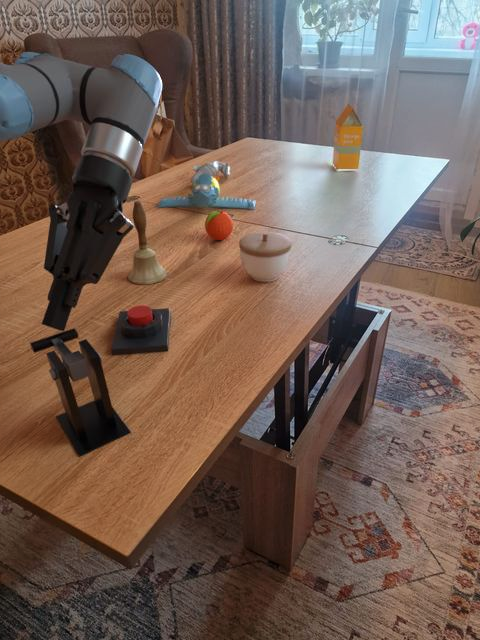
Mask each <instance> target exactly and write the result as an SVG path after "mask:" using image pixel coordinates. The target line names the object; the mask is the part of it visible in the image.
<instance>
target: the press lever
mask: <svg viewBox="0 0 480 640" xmlns="http://www.w3.org/2000/svg"><path fill="white" fill-rule="evenodd" d="M76 339H79V333H78V331H77V329H76V328H75V327H74V328H71V329H67V330H64V331H61V332H58V333H56V334H52V335H50V336H47V337H43V338H41V339H37V340H35V341H31V342H30V343H29V345H30V348H31V350H32V352H33V353H34V354H35V353H39V352H41V351H44V350H47V349H50V348H54V350H55V352H56V353H57V354H58V355H59V356H60V359H61V361H62V362H63V364H64V365H65V367H66V369H67V372H68V375H69V378H70V381H72V382H73V383H74V382H77V381H79V380H83V379H85V378H88V376H90V375H91V374H90V370H89V367H88V364H87V360H86V358H85V357H84V356H83V355H82V353H81V351H80V350H76V351H71V350H70V348H69V347H68V346H67V345H66V343H67V342H70V341H74V340H76Z"/></svg>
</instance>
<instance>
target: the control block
mask: <svg viewBox="0 0 480 640" xmlns="http://www.w3.org/2000/svg"><path fill="white" fill-rule="evenodd" d="M151 310H152V316H153V321H152V322H150V323H148V324H146V325H140V326H134V325H131V324H130V323H129V320H128V315H127V312H128V310H120V311H119V312H118V316H117V321H116V324H115V325H116V326H115V330H114V334H113V339H112V343H111V348H110V351H111V356H122V355H124V356H125V355H137V354H139V355H140V354H150V353H152V354H153V353H164V352H169V349H170V348H169V347H170V331H171V330H170V329H171V327H172V313H171V308H170V307H167V308H166V307H165V308H151Z"/></svg>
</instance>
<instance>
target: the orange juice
mask: <svg viewBox="0 0 480 640" xmlns="http://www.w3.org/2000/svg"><path fill="white" fill-rule="evenodd" d="M334 127H335V128H334V139H333V153H332V164H334V166H335V167H336V169H337V170H338V169H358V170H359V167H360V157H361V150H362V140H363V130H364V126H363V124H362V123H361V121H360V118H359V117H358V115H357V113H356V111H355V109H354V107H353V106H351V105H350V104H347V105H346V106H345V108H344V109H343V110H342V112H341V114H340V115H339V116H338V117H337V119H336V120H335V126H334Z"/></svg>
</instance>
